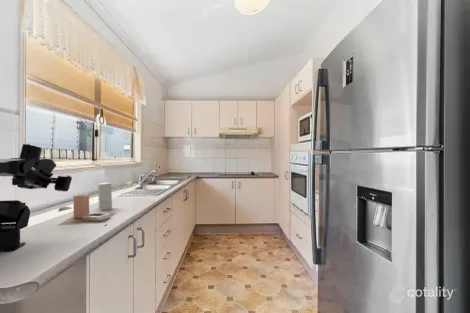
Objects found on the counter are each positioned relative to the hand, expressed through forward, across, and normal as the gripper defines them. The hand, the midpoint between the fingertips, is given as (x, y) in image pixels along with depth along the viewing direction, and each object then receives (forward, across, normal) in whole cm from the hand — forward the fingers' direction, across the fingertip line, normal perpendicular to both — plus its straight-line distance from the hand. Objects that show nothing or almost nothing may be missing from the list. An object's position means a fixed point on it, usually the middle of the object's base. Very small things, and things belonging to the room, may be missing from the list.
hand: (58, 187), depth 106 cm
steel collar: (+9, -15, +11) cm, 21 cm away
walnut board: (+11, -11, +12) cm, 20 cm away
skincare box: (+32, -7, +4) cm, 33 cm away
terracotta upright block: (+13, -6, +10) cm, 18 cm away
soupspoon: (+27, +12, +9) cm, 31 cm away
